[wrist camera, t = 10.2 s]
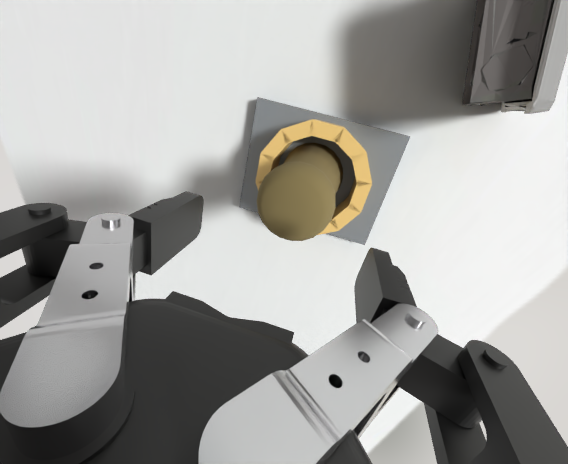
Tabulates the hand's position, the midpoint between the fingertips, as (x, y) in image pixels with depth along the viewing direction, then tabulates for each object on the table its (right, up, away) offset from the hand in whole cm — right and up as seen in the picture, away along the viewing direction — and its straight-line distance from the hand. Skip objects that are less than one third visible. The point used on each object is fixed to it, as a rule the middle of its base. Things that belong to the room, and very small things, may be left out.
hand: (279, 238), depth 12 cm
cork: (+3, +6, +14) cm, 15 cm away
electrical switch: (+16, +14, +8) cm, 23 cm away
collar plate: (+4, +6, +15) cm, 16 cm away
